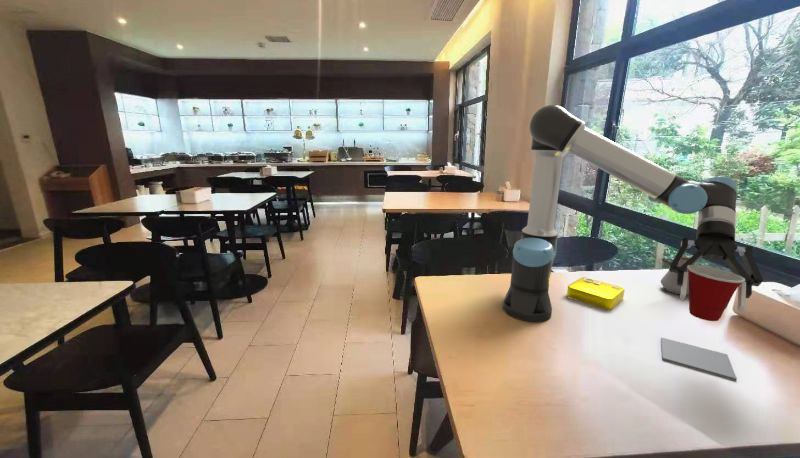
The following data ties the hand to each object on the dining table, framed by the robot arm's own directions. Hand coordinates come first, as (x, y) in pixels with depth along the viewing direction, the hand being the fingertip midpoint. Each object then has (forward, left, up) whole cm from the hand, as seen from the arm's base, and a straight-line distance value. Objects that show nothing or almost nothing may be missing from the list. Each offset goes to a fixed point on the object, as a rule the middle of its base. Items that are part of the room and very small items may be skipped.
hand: (711, 302), depth 84 cm
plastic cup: (0, +3, -5) cm, 6 cm away
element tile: (-26, +30, -17) cm, 43 cm away
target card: (0, +3, -17) cm, 17 cm away
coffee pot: (-3, +51, -17) cm, 54 cm away
